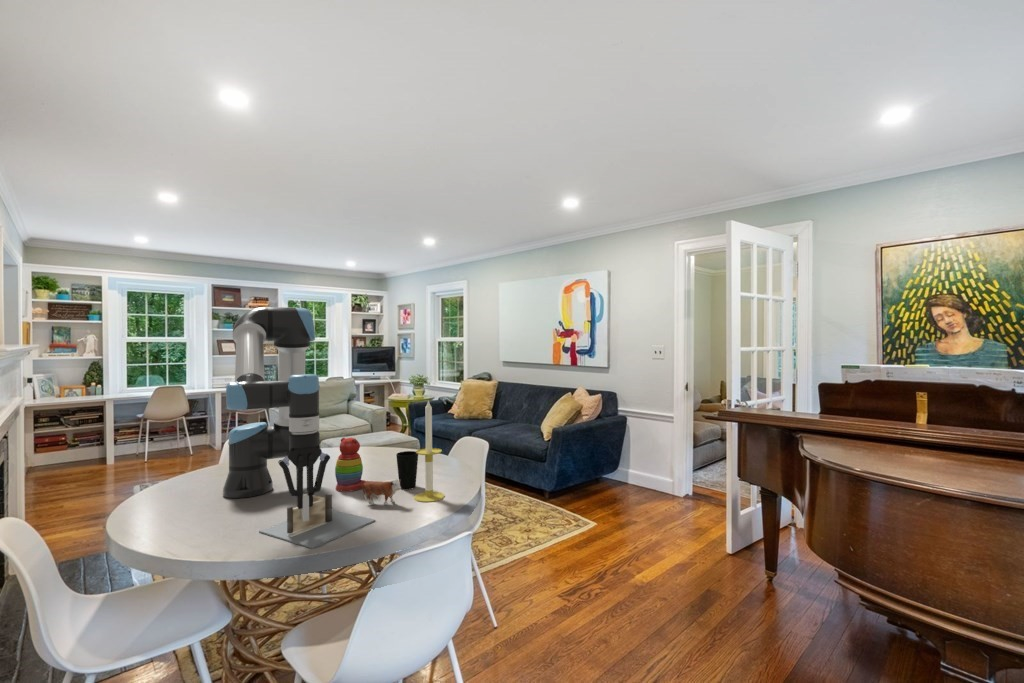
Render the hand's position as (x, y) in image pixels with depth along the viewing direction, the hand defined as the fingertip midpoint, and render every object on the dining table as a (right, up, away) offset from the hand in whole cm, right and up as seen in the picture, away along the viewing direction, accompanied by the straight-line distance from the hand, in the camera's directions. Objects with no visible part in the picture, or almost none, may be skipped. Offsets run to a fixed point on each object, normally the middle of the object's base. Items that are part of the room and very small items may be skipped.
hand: (305, 519), depth 127 cm
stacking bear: (-2, -4, +41) cm, 41 cm away
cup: (+19, -4, +41) cm, 45 cm away
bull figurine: (+14, -4, +24) cm, 28 cm away
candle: (+28, -4, +30) cm, 41 cm away
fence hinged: (-1, -3, +3) cm, 4 cm away
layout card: (+2, -4, +5) cm, 7 cm away
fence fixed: (-1, -3, +11) cm, 11 cm away
